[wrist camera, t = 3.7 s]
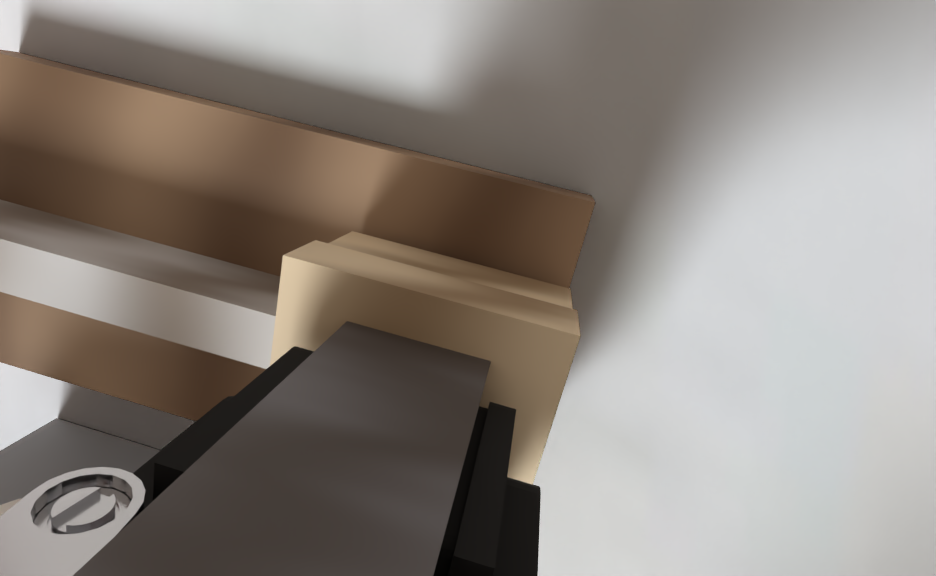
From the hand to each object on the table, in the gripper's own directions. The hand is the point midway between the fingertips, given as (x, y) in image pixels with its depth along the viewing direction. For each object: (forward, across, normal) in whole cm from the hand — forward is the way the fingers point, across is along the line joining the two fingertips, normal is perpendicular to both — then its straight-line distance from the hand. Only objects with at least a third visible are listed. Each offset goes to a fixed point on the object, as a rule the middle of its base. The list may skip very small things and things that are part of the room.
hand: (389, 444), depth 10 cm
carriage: (+5, 0, 0) cm, 5 cm away
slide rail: (+7, +6, 0) cm, 9 cm away
